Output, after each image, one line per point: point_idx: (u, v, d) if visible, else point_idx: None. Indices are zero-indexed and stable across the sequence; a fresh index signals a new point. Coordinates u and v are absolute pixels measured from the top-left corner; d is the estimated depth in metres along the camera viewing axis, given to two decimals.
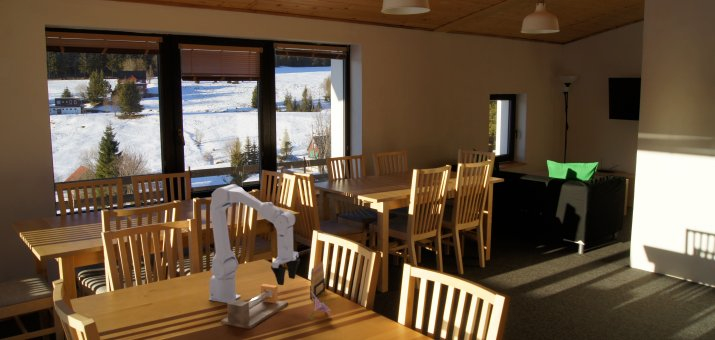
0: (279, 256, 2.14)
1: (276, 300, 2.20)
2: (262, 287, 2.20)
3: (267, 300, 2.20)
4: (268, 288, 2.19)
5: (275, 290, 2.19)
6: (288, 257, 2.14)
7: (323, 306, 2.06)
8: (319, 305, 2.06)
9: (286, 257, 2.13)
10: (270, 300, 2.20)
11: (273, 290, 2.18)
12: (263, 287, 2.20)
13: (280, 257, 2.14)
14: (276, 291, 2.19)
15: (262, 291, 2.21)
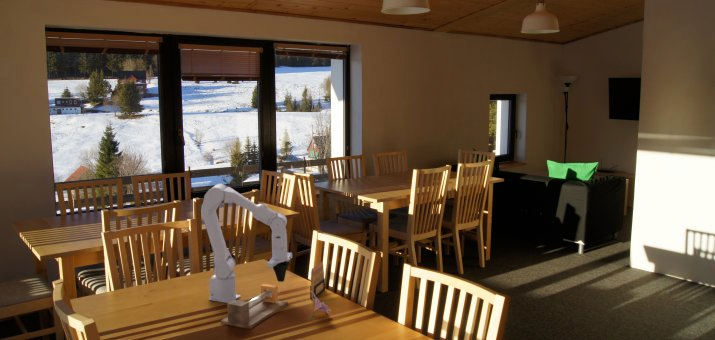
0: (274, 257, 2.24)
1: (276, 300, 2.20)
2: (262, 287, 2.20)
3: (267, 300, 2.20)
4: (268, 288, 2.19)
5: (275, 290, 2.19)
6: (282, 258, 2.23)
7: (323, 306, 2.06)
8: (319, 305, 2.06)
9: (280, 257, 2.23)
10: (270, 300, 2.20)
11: (273, 290, 2.18)
12: (263, 287, 2.20)
13: (275, 258, 2.24)
14: (276, 291, 2.19)
15: (262, 291, 2.21)
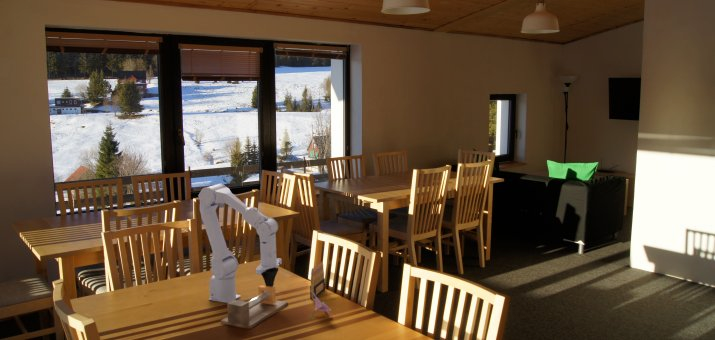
0: (262, 263, 2.17)
1: (274, 301, 2.18)
2: (260, 288, 2.19)
3: (265, 301, 2.19)
4: (266, 289, 2.18)
5: (273, 291, 2.17)
6: (271, 264, 2.17)
7: (324, 306, 2.06)
8: (320, 305, 2.06)
9: (269, 263, 2.16)
10: (268, 301, 2.18)
11: (271, 291, 2.17)
12: (261, 288, 2.19)
13: (263, 264, 2.17)
14: (274, 292, 2.18)
15: (260, 292, 2.19)
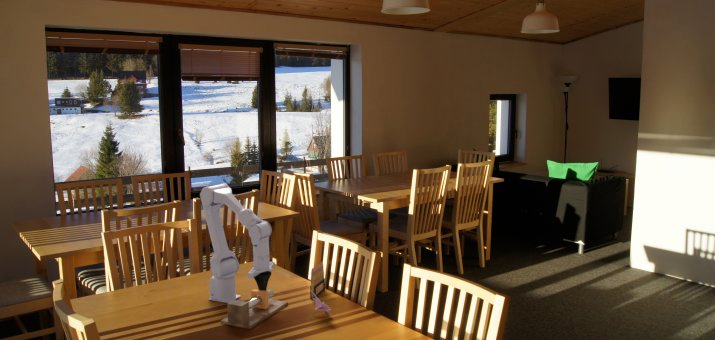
0: (255, 266, 2.13)
1: (267, 306, 2.14)
2: (252, 292, 2.15)
3: (257, 306, 2.15)
4: (258, 293, 2.14)
5: (266, 295, 2.13)
6: (264, 267, 2.13)
7: (324, 306, 2.06)
8: (320, 305, 2.07)
9: (262, 267, 2.12)
10: (261, 306, 2.14)
11: (264, 295, 2.13)
12: (253, 292, 2.15)
13: (256, 267, 2.13)
14: (267, 296, 2.14)
15: (252, 296, 2.15)
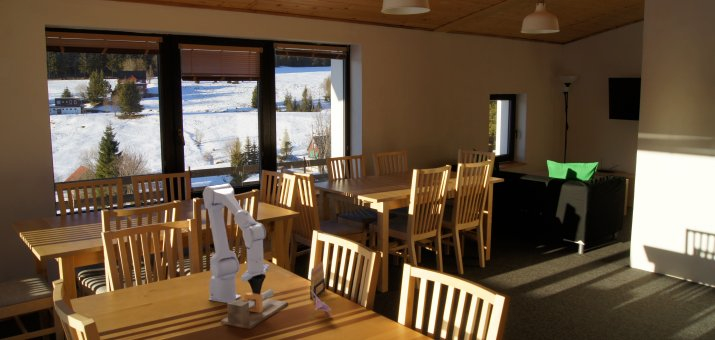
0: (249, 269, 2.10)
1: (261, 309, 2.11)
2: (246, 296, 2.11)
3: (251, 309, 2.11)
4: (252, 297, 2.10)
5: (260, 299, 2.10)
6: (258, 270, 2.09)
7: (324, 305, 2.06)
8: (320, 304, 2.07)
9: (256, 270, 2.09)
10: (254, 309, 2.11)
11: (258, 299, 2.09)
12: (247, 296, 2.11)
13: (250, 270, 2.09)
14: (261, 300, 2.11)
15: (246, 300, 2.12)
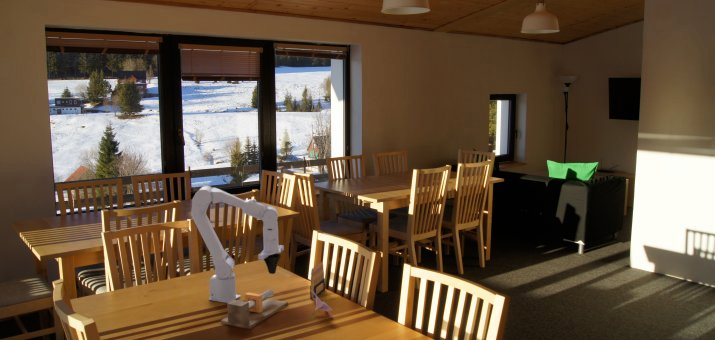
0: (265, 249, 2.25)
1: (261, 309, 2.11)
2: (246, 296, 2.11)
3: (251, 309, 2.11)
4: (252, 297, 2.10)
5: (260, 299, 2.10)
6: (273, 250, 2.25)
7: (324, 305, 2.07)
8: (320, 304, 2.07)
9: (272, 250, 2.24)
10: (254, 309, 2.11)
11: (257, 299, 2.09)
12: (247, 296, 2.11)
13: (266, 250, 2.25)
14: (261, 300, 2.10)
15: (246, 300, 2.12)
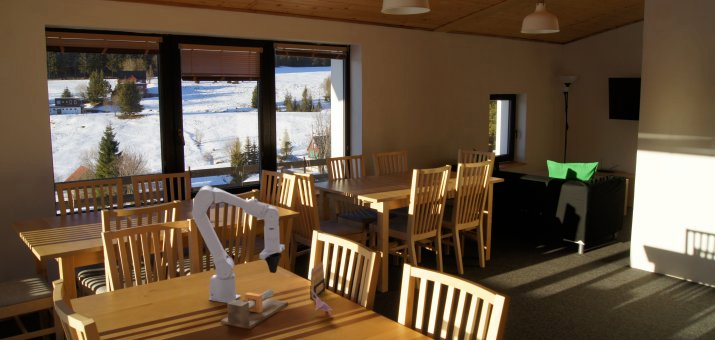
0: (266, 248, 2.26)
1: (261, 309, 2.11)
2: (246, 296, 2.11)
3: (251, 309, 2.11)
4: (252, 297, 2.10)
5: (260, 299, 2.10)
6: (274, 249, 2.26)
7: (324, 305, 2.07)
8: (320, 304, 2.07)
9: (273, 249, 2.25)
10: (254, 309, 2.11)
11: (257, 299, 2.09)
12: (247, 296, 2.11)
13: (267, 249, 2.26)
14: (261, 300, 2.10)
15: (246, 300, 2.12)
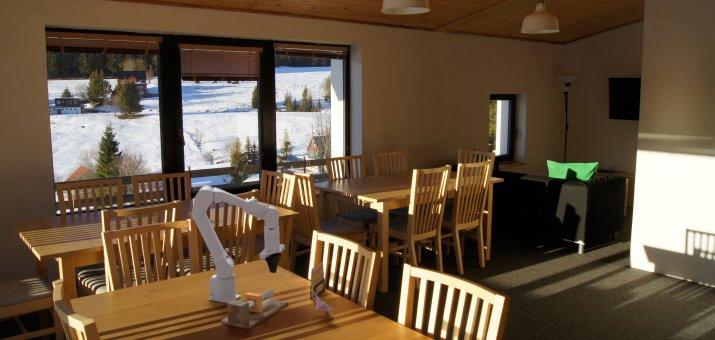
0: (266, 248, 2.26)
1: (261, 309, 2.11)
2: (246, 296, 2.11)
3: (251, 309, 2.11)
4: (252, 297, 2.10)
5: (260, 299, 2.10)
6: (274, 249, 2.26)
7: (324, 305, 2.07)
8: (320, 304, 2.07)
9: (273, 249, 2.25)
10: (254, 309, 2.11)
11: (257, 299, 2.09)
12: (247, 296, 2.11)
13: (267, 249, 2.26)
14: (261, 300, 2.10)
15: (246, 300, 2.12)
